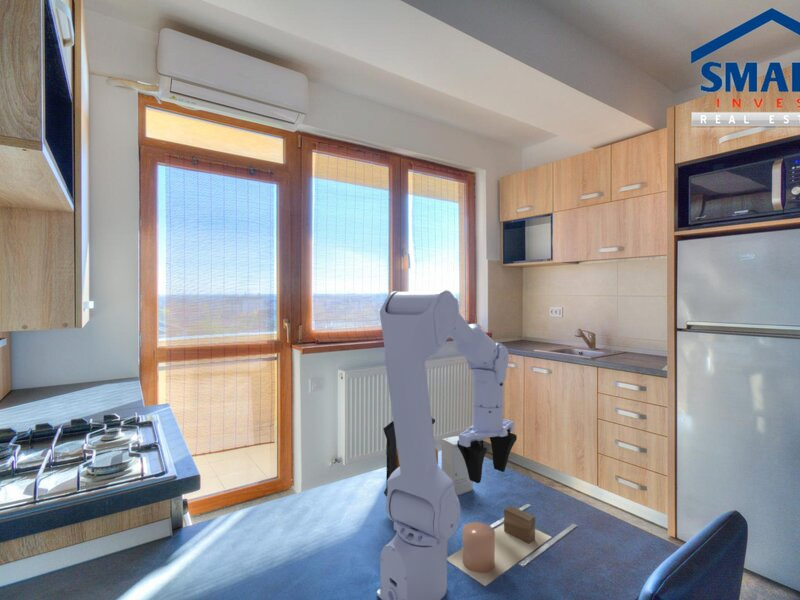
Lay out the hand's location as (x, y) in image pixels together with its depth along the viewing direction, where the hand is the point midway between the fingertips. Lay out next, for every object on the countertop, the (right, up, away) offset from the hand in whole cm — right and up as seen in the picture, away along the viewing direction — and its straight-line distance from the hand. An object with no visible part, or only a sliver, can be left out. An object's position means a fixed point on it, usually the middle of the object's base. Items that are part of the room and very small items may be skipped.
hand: (487, 475), depth 76 cm
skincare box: (-4, -10, +12) cm, 16 cm away
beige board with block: (0, -9, -9) cm, 13 cm away
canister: (-15, -10, +3) cm, 18 cm away
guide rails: (+6, -9, -4) cm, 12 cm away
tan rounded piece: (-4, -8, -13) cm, 16 cm away
